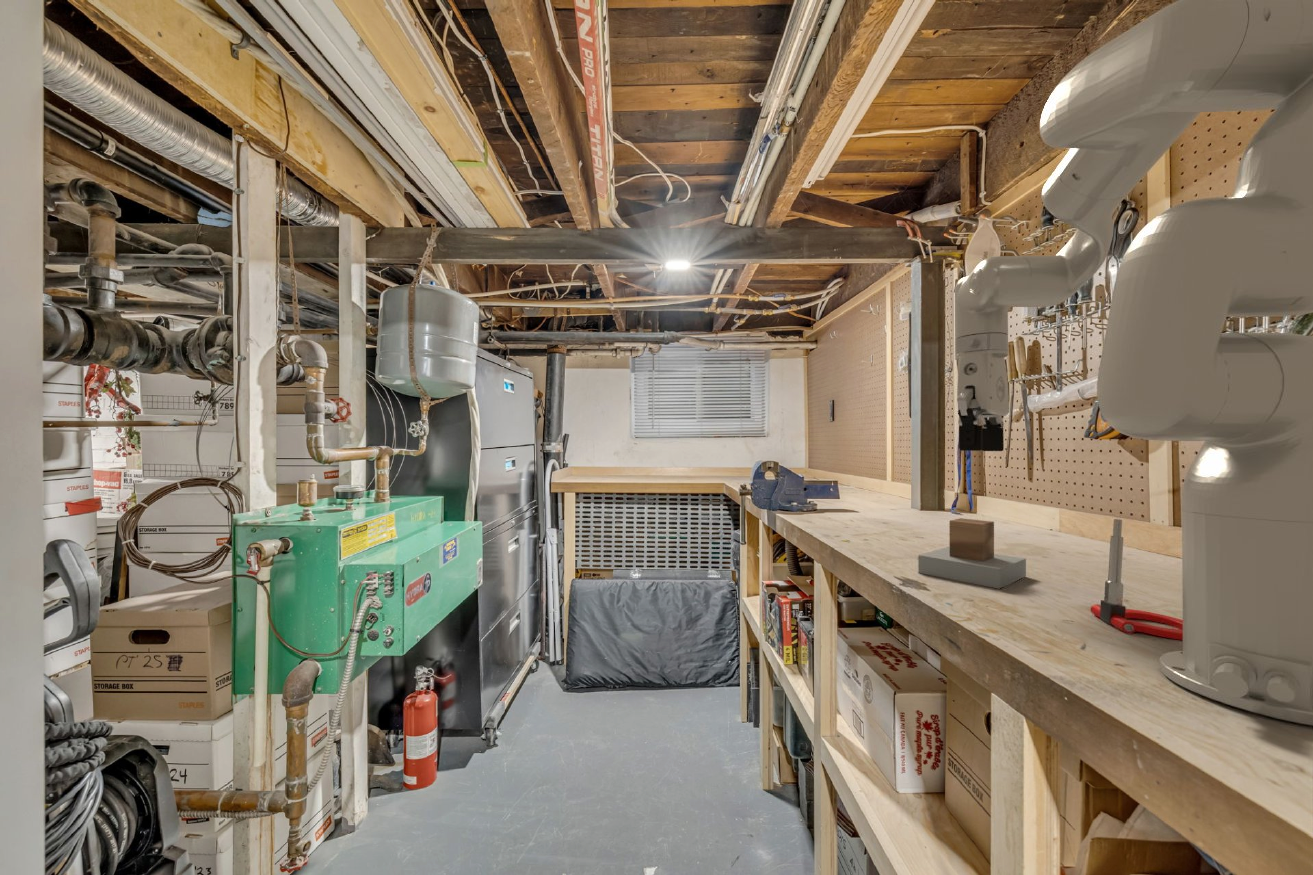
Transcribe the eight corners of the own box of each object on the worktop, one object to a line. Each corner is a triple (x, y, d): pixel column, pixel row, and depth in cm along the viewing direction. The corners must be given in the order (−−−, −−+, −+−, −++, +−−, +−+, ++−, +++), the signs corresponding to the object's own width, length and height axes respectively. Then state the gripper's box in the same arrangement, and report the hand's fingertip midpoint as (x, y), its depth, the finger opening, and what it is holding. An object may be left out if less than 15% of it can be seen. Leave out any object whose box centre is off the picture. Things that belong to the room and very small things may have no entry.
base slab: (999, 589, 77) (999, 569, 77) (918, 572, 86) (918, 555, 86) (1025, 576, 84) (1025, 558, 84) (948, 563, 94) (948, 546, 94)
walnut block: (982, 561, 82) (982, 524, 82) (949, 556, 86) (949, 520, 86) (994, 557, 85) (994, 521, 85) (961, 552, 89) (961, 518, 89)
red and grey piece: (1172, 623, 64) (1085, 612, 66) (1178, 521, 64) (1090, 514, 66) (1227, 649, 56) (1125, 636, 58) (1234, 532, 56) (1131, 524, 58)
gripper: (987, 337, 77) (988, 450, 76) (1023, 352, 88) (1025, 451, 87) (935, 345, 83) (936, 450, 82) (975, 358, 94) (976, 451, 93)
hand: (982, 450), depth 85 cm, fingers open, 9 cm apart
